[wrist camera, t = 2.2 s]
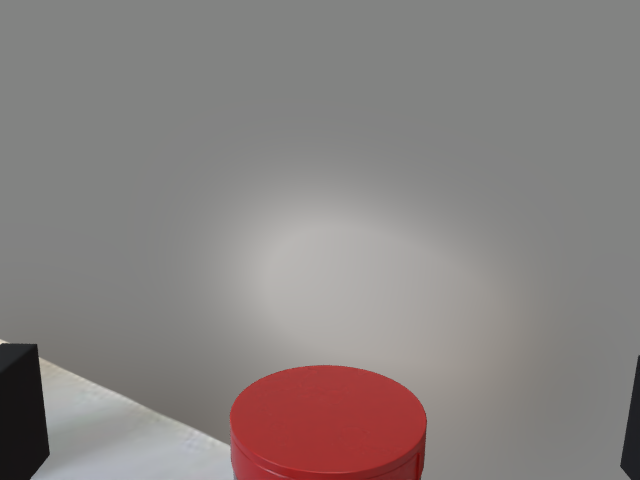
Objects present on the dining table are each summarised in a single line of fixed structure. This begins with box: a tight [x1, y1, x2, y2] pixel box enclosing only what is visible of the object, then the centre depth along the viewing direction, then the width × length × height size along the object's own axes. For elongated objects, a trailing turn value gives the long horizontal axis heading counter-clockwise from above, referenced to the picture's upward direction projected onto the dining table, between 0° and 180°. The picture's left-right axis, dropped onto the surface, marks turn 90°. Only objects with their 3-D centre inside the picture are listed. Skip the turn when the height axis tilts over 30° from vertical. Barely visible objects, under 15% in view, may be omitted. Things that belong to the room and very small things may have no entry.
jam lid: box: [230, 365, 427, 480], centre depth 23 cm, size 8×8×2 cm
